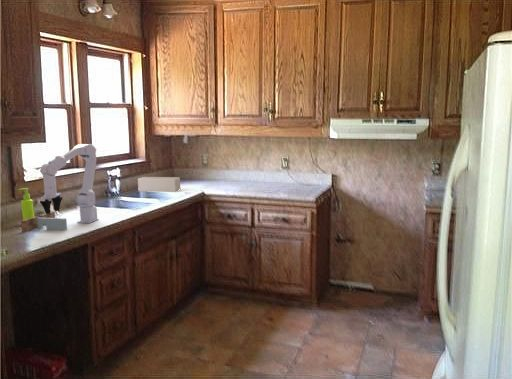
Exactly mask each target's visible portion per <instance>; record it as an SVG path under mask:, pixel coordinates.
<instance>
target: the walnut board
mask: <svg viewBox="0 0 512 379" xmlns="http://www.w3.org/2000/svg"><path fill="white" fill-rule="evenodd" d="M55 212H56V211H50V214H46V213H42V214H39V215H38V216H34V217H32V218H29V219H25V220H23V219H22V220H20V225H21V233H27V232H30V231H32V230H36V229H38V221H37V218H39V217H40V218H56V213H55ZM45 226H46V224H43V227H45Z"/></svg>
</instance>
